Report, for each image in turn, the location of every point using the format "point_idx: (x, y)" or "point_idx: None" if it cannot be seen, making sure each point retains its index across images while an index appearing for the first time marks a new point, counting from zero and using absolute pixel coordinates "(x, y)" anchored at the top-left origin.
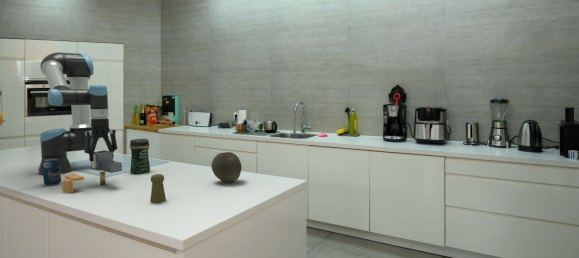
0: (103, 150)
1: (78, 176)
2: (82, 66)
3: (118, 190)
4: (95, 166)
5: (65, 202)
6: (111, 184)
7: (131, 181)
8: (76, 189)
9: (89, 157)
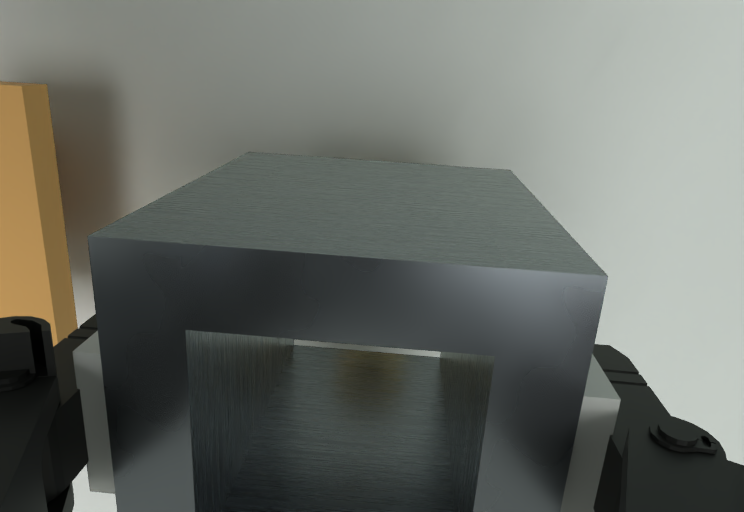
0: (545, 275)
1: (17, 289)
2: None
3: None
4: None
5: None
6: None
7: (634, 348)
8: (112, 166)
9: (62, 348)
